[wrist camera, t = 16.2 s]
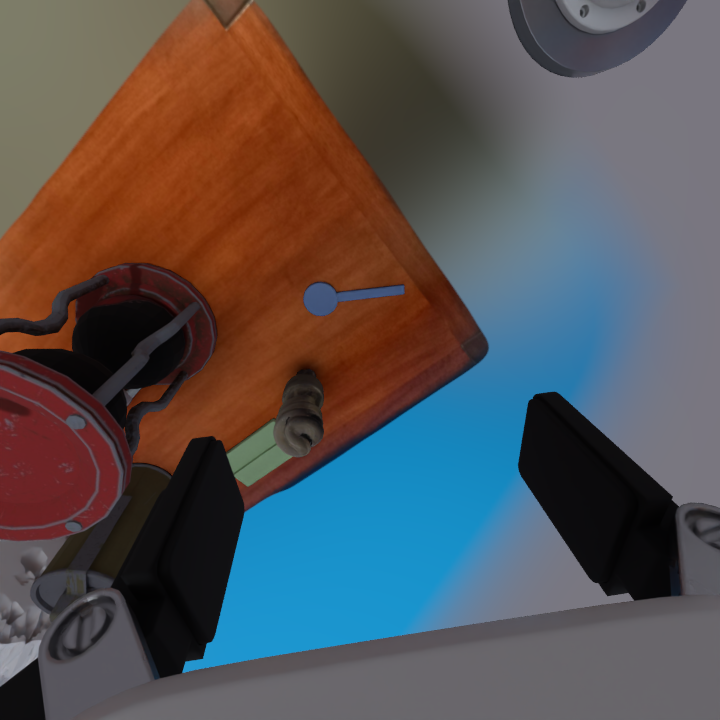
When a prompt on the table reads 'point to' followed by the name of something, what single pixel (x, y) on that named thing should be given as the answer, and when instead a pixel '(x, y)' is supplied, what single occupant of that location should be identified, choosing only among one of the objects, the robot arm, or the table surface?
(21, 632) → the grey carved stone block
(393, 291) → the spoon
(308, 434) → the grey spiral shell
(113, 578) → the canister
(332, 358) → the table surface
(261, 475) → the towel
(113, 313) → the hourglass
